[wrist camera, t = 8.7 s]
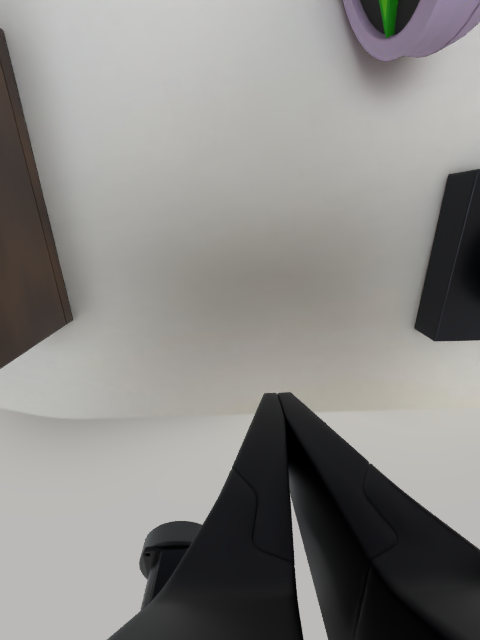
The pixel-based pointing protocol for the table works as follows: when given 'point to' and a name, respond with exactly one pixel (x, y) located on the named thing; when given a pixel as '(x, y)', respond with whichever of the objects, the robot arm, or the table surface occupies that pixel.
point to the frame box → (24, 236)
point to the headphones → (410, 25)
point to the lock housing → (454, 265)
